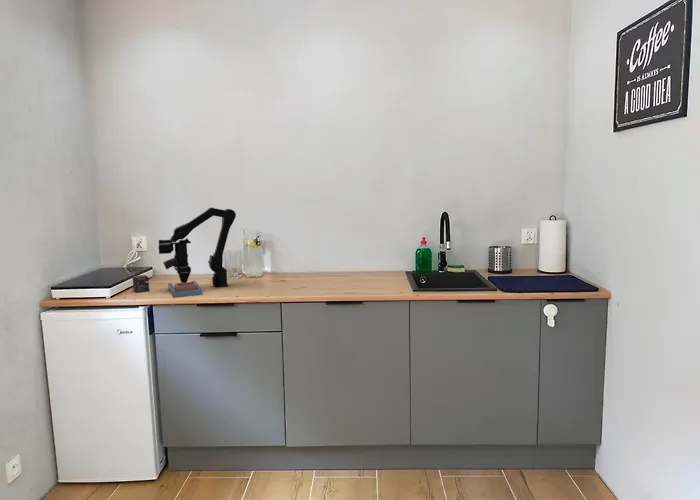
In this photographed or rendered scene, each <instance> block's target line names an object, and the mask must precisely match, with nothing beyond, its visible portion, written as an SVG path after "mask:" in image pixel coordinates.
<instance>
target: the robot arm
mask: <svg viewBox="0 0 700 500" xmlns="http://www.w3.org/2000/svg"><path fill="white" fill-rule="evenodd" d="M212 217H217V218H221V227H220V228H221V229H220V231H219V234H218V235H219V236H218V239H217V243H216V246H215V249H214V253H213V254H209V259H208V261H207V263H208V267H209V269H210V270H211V271H212V272H213V274H212V277H211V281H212V282H211V284H212V285H213V287H215V288H218V287H228V286H229V284H228V276H227V274H228V273H227V272H228V270H227V269H226V268H225V267H223V263H224V262H223V260H224V258H223V255H224V251H225V247H226V243H227V240H228V236H229V233H230V229H231V227H232V226H233V223H234V221H235V219H236V217H237V214H236V212H235V210H233V209H231V208H226V209H220V208H215V207H212V206H211V207H209V208H207V210H205V211H204V212H202V213H201V214H199V215H197V216H196V217H194V218H193V219H192V220H190V221H188V222H186V223H183V224H182V225H179V226H177V227H175V228H174V229H173V234H172V236H171V237H170V238H169V239H158V254H159V255H166V254H167V255H168V254H172V252H174V255H173V256H174V257H172V258H170V259H168V260H165V261H163V265H164V268H165V269H166V270H169V269H171V268H174V271H176V274H177V275H178V278H179V281H180V283H185V282H188V280H189V277H190V275H191V272H192V268H191V266H190V265H189V264H190V263H189V260H188V258H189V254H188V245H187V244H191V243H192V241H191V240H189V238H186V237H187V236H189V234H190V233H191V232H192V231H193V230H194V229H195V228H197V227H199V226H200V225H202V224H203V223H205V221H208V220H209V219H211V218H212ZM185 238H186V239H185Z"/></svg>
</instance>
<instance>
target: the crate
mask: <svg viewBox="0 0 700 500" xmlns="http://www.w3.org/2000/svg"><path fill="white" fill-rule="evenodd" d="M174 288H175V290H176V291H183V290H193V289H197V287H196V284H195V282H192V281H187V282H185V283H182V282H175V283H174Z"/></svg>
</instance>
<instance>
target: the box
mask: <svg viewBox="0 0 700 500" xmlns="http://www.w3.org/2000/svg"><path fill="white" fill-rule="evenodd" d="M132 288H133V289H132V290H133V291H134V292H135V293H144V292H150V281H149V275H145V274H141V275H133V276H132Z"/></svg>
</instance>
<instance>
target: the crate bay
mask: <svg viewBox="0 0 700 500" xmlns="http://www.w3.org/2000/svg"><path fill="white" fill-rule="evenodd" d="M191 282H195V284H196V287H197V289H193V290H183V291H176V290H175V286H173V284H172V283H171V282H168V283H167V287H168V291H169V292H170V294H171V296H172V298H181V297H182V298H183V297H190V296H192V297H193V296H200V295H201V296H202V295H203V288H202V286H200V285H199V283H197V281H196V280H191Z"/></svg>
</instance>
